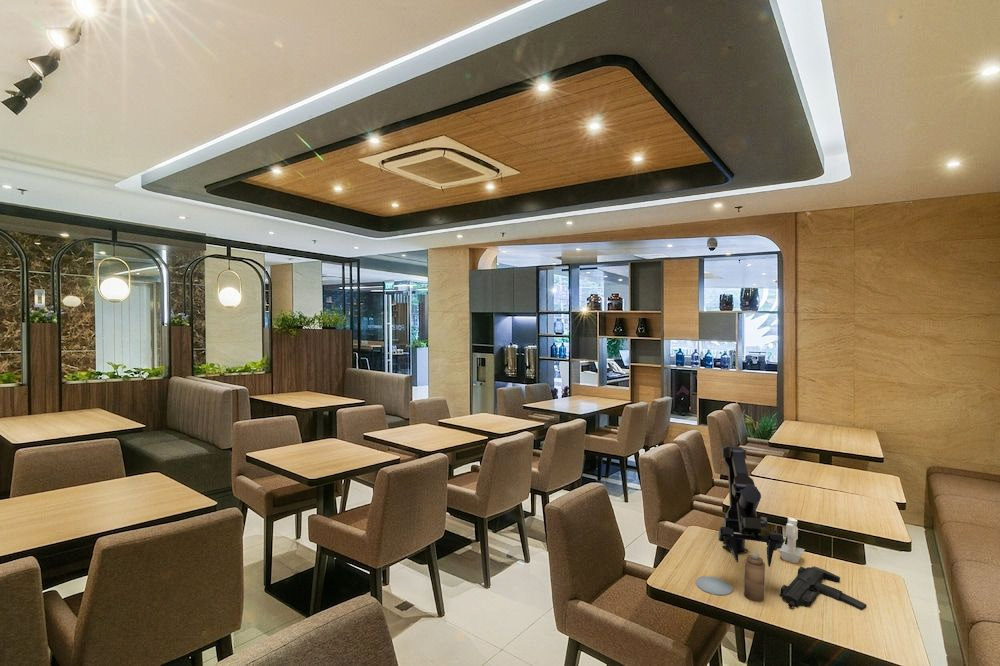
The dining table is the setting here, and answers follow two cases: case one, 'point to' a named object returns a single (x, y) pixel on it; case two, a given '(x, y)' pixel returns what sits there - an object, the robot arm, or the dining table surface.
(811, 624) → the dining table surface
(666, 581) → the dining table surface
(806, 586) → the firearm
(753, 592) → the pepper mill
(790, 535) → the figurine
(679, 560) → the dining table surface
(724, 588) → the slate mat
